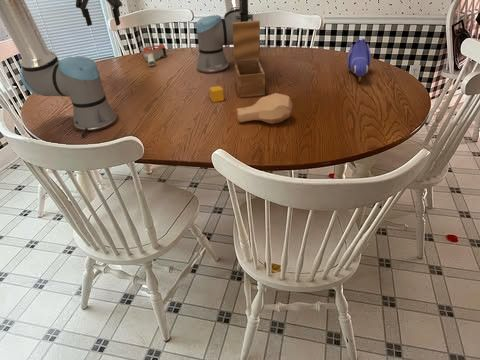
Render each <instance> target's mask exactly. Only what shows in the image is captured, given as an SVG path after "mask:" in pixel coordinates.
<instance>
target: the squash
mask: <svg viewBox="0 0 480 360" xmlns="http://www.w3.org/2000/svg"><path fill="white" fill-rule="evenodd" d="M292 109H293V102H292V100H291V97H290V96H288V95H286V94H282V93H279V92H278V93H277V92H273V93H271V94H269V95H265V96H261V97H260V98H259V99H257V101H256V102H255V103H254V104H252V105H249V106H246V107H238V108H236V115H237V118H236V119H237V120H238V122H239V123H245V122H249V121H262V122H263V123H267V124H270V125H271V124H272V125H273V124H279V123H280V124H281V123H282V122H284V121H285V120H287V119H289V118H290V117H291V112H292Z"/></svg>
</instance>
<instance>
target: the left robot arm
mask: <svg viewBox="0 0 480 360" xmlns="http://www.w3.org/2000/svg"><path fill="white" fill-rule="evenodd" d="M106 1H107V3H108V4H109V5H110V6H111V7H112V15H113V18H114V23H115V26H117V27H118V26H120V25H121V19H120V16H121V12H120V7H122V6H123V2H121V0H106ZM88 3H89V0H75V8H77V9H80V11H81V13H82V17H83V18H84V19H85V22H86V25H87V27H90V26H93V21H92V19H91V15H90V11H89V8H88V7H87V6H88ZM0 20H1V22H2V23H3V25H4V27H5V29H6V31H7V33H8V34H9V36H10V38H11V41H13V44H14V45H15V47H16V49H17V51H18V53H19V54H20V56H21V61H20V66H21V67H20V69H19V74H20V75H19V76H20V80H21V83H22V85H23V87H24V88H25V89H26V90H27V91H29V92H30V93H31V94H33V95H37V96H43V97H67V98H69V99H70V101H71V104H72V108H73V114H72V117H73V118H72V119H73V125H74V128H75V129H76V131H78V132H82V133H81V135H80V136H81V137H83V138H84V136H85V134H86V133H92V132H99V131H102V130H105V129H107V128H110V127H111V126H113V125H115V124H116V122H117V121H118V116H117V113H116V111H115V110H114V108H113V107H112V105H111V103H110V102H109V101H108V99H107V96H106V92H105V89H104V87H103V86H104V85H103V83H102V79H101V73H100V71H99V69H98V66H97V64H96V62H95V61H94V60H93V59H91V58H89V57H86V56H80V55H79V56H77V55H76V56H68V57H64V58H62V59H60V60H59V58H58V56H57V53H55V52H54V51H52V50H50V49H49V48H48V46H47V44H46V42H45V40H44V37H43V36H42V34H41V31H40V30H39V27H38V26H37V23H36V22H35V19H34V17H33V15H32V13H31V10H30V9H29V7H28V5H27V3H26V1H25V0H0Z"/></svg>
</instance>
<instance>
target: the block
mask: <svg viewBox="0 0 480 360" xmlns="http://www.w3.org/2000/svg"><path fill="white" fill-rule="evenodd" d="M208 89H209V98H210V99H211V101H212V103H216V102H222V101H225V96H224V89H223V87H222V86H221V85H217V86H211V87H210V86H209V88H208Z"/></svg>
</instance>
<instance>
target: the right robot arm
mask: <svg viewBox="0 0 480 360" xmlns="http://www.w3.org/2000/svg"><path fill="white" fill-rule="evenodd" d="M224 4H225V5H224V6H225V11H226V12H225V14H224V15H223V18H222V17H221V15H218V14H215V15H214V14H213V15H209V16H205V17H202V18H200V19H198V20H197V22H196V25H195V26H196V34H197V42H198V43H197V44H198V58H197V64H196V67H197V71H198V72H200V73H203V74H217V73H221V72H224V71H226V70H227V69H228V68H229V62H228V59H227V57H226V54H225V52H224V46H233V23H234V22H236V20H235V16H238V15H241V20H238V22H247V21H251V19H248V15H249V0H224Z"/></svg>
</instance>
